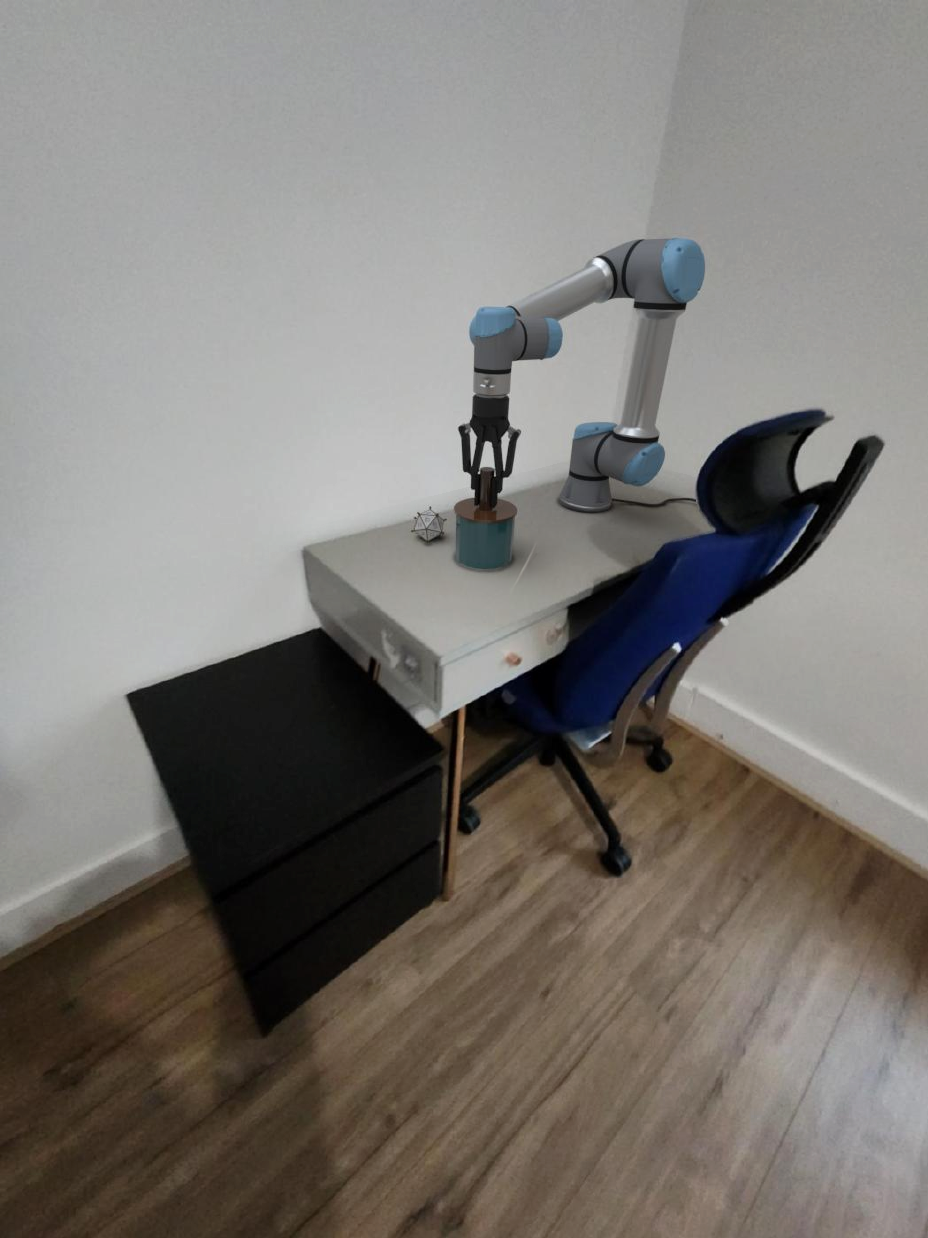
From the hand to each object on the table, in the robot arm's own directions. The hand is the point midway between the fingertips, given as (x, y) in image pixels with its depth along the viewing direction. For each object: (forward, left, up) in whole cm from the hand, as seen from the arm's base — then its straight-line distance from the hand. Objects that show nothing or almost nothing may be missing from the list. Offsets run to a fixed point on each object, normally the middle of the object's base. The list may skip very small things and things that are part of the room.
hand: (485, 504), depth 123 cm
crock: (0, 0, -13) cm, 13 cm away
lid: (0, 0, -1) cm, 1 cm away
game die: (+16, -5, -14) cm, 21 cm away
